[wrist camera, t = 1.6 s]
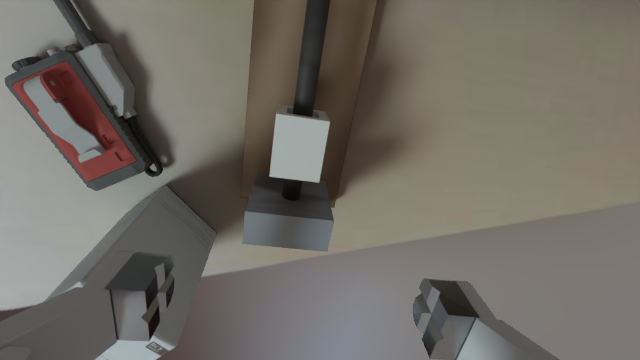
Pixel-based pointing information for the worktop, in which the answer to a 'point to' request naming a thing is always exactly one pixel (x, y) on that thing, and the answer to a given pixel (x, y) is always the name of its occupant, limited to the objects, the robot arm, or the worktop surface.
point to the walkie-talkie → (85, 107)
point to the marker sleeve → (298, 145)
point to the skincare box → (159, 238)
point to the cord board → (284, 78)
